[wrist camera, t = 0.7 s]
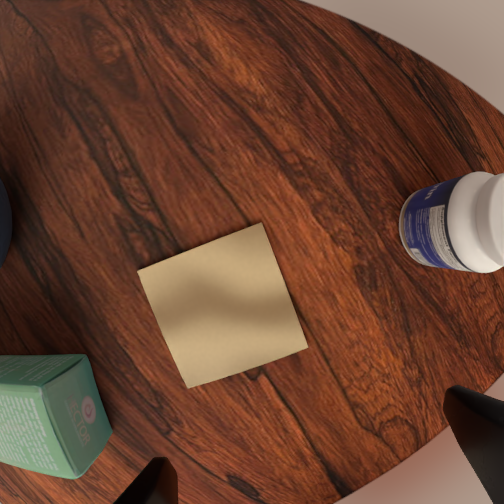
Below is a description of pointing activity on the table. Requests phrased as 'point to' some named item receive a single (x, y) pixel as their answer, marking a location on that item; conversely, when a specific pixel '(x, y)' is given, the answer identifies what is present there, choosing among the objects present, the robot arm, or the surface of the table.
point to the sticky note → (223, 307)
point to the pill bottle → (457, 223)
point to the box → (51, 414)
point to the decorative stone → (4, 223)
